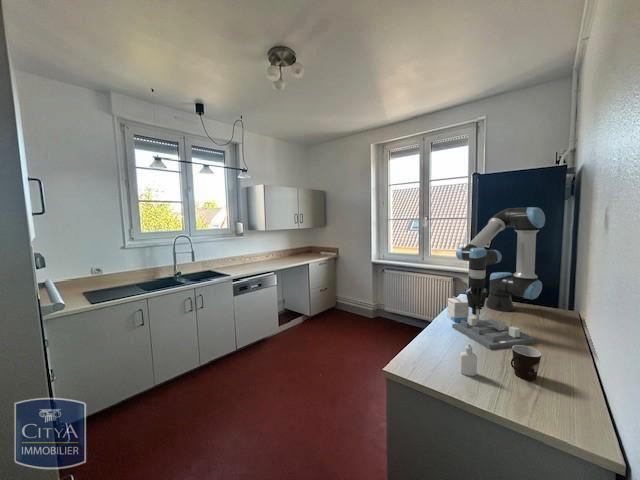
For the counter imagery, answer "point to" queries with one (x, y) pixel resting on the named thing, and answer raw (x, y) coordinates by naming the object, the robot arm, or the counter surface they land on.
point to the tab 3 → (514, 332)
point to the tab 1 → (472, 321)
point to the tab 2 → (499, 325)
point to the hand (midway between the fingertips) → (475, 320)
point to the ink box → (458, 309)
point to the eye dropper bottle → (468, 362)
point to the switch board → (491, 334)
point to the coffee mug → (525, 362)
